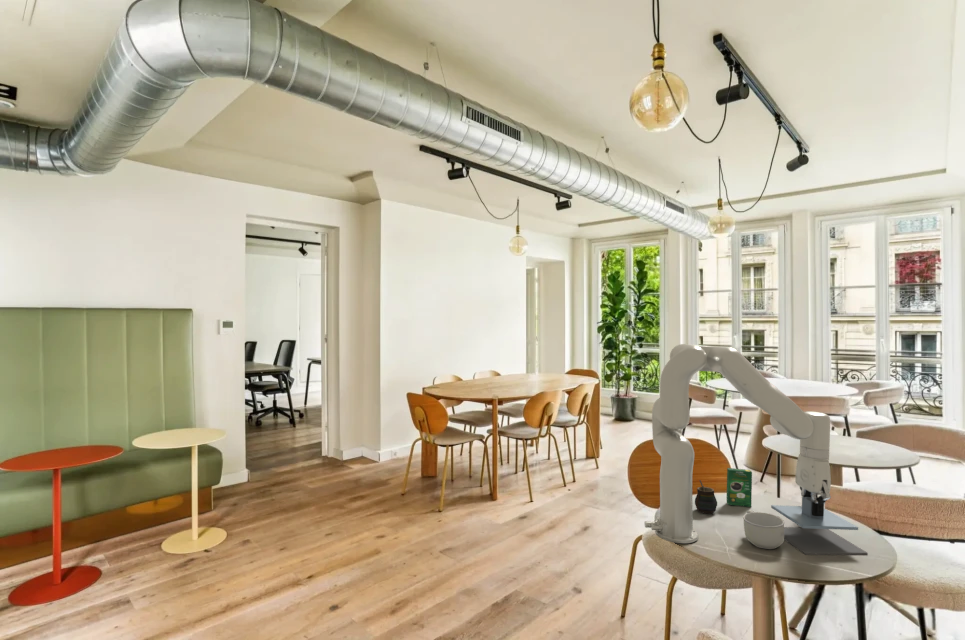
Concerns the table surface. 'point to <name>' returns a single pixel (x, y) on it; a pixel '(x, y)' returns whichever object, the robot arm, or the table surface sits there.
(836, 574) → the table surface
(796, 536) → the mat
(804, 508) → the lid
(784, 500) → the table surface
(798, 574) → the table surface
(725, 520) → the table surface
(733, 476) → the coffee box
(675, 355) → the robot arm
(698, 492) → the mate gourd
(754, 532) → the teacup
